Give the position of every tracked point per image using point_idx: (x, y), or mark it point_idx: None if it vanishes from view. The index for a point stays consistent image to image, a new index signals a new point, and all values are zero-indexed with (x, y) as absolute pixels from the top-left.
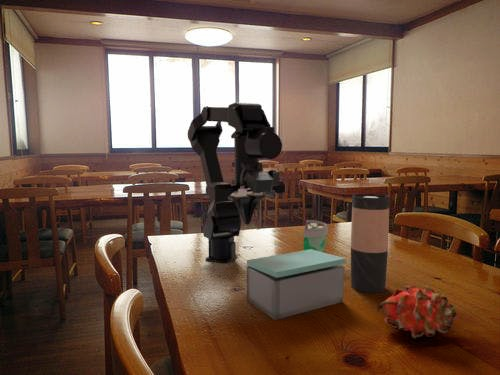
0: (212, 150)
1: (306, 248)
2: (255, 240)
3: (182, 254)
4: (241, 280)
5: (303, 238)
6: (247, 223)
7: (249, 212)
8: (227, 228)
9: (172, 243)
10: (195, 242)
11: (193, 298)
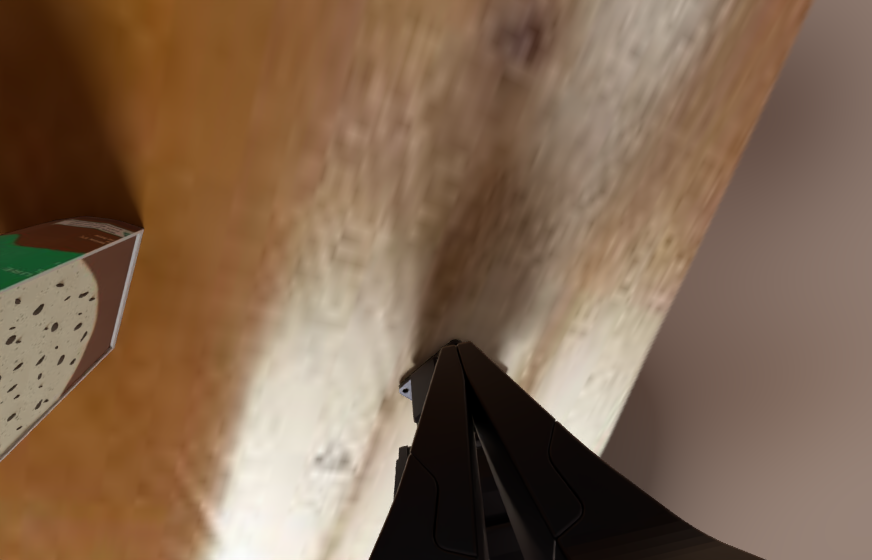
0: None
1: (46, 253)
2: (290, 508)
3: None
4: (469, 147)
5: (6, 286)
6: (464, 346)
7: (469, 433)
8: (480, 455)
9: None
10: None
11: (722, 4)
